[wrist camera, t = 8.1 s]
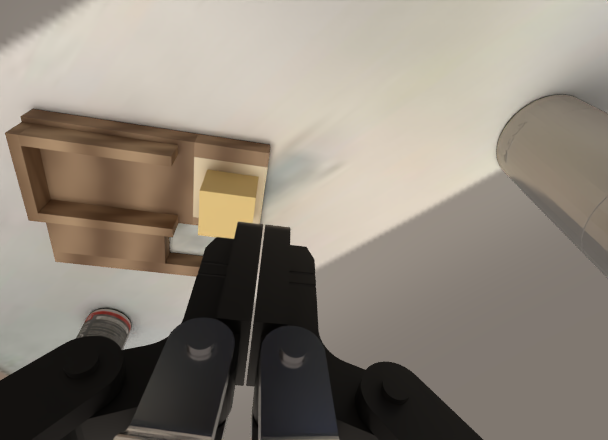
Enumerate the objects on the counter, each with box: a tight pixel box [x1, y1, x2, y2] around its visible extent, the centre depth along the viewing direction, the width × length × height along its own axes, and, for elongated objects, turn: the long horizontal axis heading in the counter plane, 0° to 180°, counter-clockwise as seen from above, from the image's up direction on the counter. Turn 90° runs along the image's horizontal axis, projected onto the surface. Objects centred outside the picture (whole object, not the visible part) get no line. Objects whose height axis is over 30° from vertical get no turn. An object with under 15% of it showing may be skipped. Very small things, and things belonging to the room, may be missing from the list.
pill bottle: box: [77, 309, 131, 350], centre depth 48 cm, size 6×6×10 cm
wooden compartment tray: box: [21, 109, 270, 277], centre depth 41 cm, size 22×17×2 cm
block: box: [198, 170, 259, 239], centre depth 38 cm, size 5×5×4 cm
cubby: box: [5, 122, 178, 237], centre depth 37 cm, size 14×9×2 cm, turn 80°
